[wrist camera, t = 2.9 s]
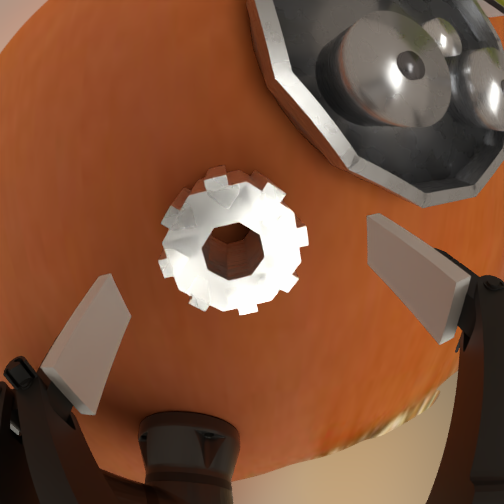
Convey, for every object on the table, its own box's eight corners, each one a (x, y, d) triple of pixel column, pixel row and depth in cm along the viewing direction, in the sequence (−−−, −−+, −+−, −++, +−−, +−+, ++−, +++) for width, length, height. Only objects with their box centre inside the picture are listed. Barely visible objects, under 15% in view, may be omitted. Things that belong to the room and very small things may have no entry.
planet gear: (191, 282, 23) (184, 326, 17) (160, 181, 19) (137, 198, 14) (293, 259, 23) (314, 297, 18) (275, 154, 19) (296, 160, 14)
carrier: (287, 215, 21) (321, 257, 14) (222, -59, 10) (226, -112, 3) (492, 178, 22) (540, 196, 15) (448, -21, 11) (488, -35, 4)
